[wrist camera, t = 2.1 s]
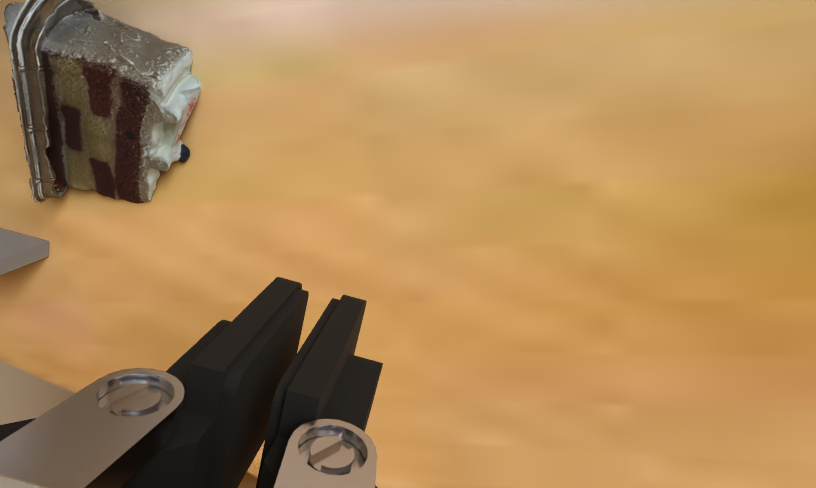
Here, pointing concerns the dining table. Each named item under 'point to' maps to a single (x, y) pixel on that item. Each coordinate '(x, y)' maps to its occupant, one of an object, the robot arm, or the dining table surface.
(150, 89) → the chocolate cake
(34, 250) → the box
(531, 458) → the dining table surface
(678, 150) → the dining table surface
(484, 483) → the dining table surface
